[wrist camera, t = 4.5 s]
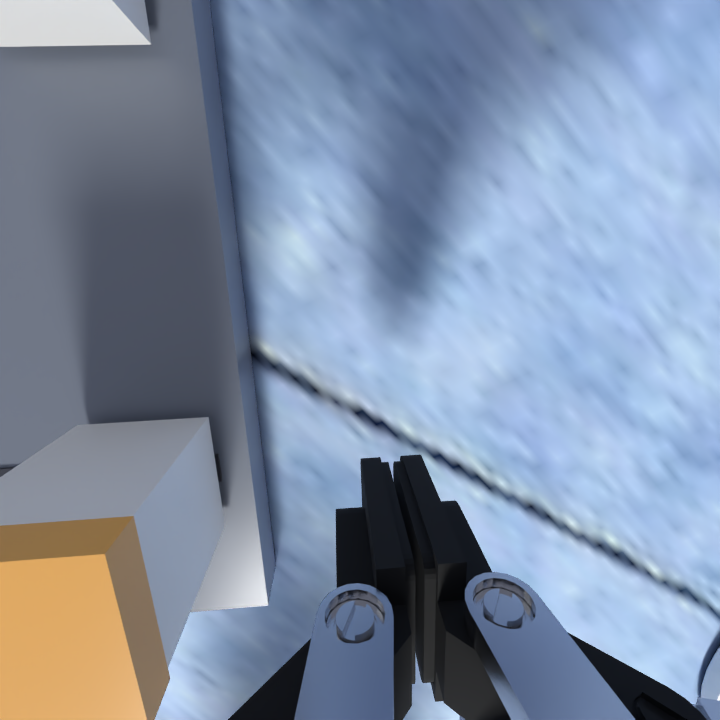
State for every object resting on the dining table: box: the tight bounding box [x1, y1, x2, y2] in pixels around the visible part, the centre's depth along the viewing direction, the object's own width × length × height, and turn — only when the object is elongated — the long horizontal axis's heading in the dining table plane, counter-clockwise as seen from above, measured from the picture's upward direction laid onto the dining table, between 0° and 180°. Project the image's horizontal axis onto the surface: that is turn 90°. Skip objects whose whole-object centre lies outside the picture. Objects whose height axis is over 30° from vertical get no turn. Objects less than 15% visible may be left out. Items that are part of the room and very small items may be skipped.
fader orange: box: [0, 417, 225, 720], centre depth 10 cm, size 4×4×6 cm
